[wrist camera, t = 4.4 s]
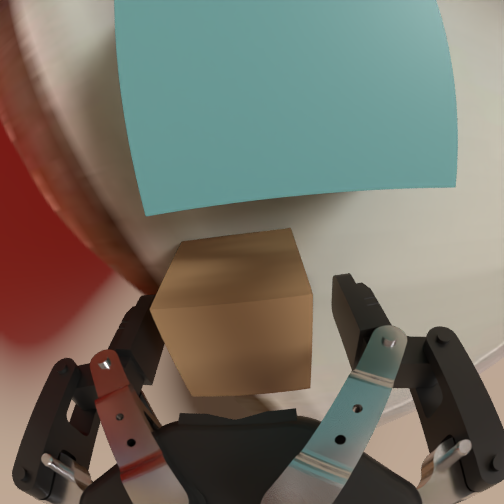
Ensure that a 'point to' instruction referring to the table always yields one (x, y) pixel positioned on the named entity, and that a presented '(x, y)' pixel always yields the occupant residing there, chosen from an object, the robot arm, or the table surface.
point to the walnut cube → (238, 314)
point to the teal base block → (284, 98)
